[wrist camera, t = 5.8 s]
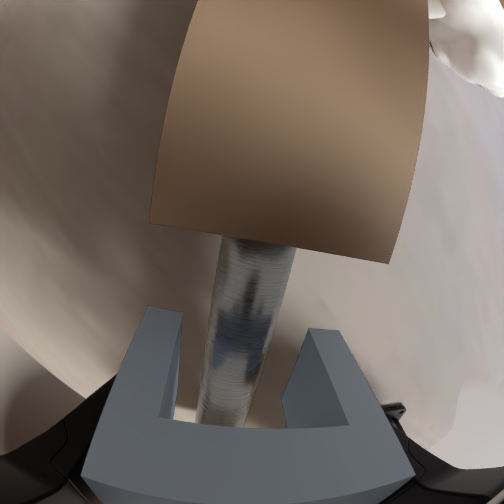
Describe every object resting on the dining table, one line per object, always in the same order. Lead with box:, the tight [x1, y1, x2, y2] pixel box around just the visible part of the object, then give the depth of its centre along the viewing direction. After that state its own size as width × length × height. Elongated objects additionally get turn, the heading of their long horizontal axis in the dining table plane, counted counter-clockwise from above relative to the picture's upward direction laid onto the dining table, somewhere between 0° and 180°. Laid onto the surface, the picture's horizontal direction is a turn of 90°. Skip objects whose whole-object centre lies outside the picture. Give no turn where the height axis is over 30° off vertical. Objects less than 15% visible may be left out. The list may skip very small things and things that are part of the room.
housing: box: [149, 0, 429, 264], centre depth 7 cm, size 16×6×7 cm, turn 169°
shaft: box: [195, 235, 296, 428], centre depth 11 cm, size 20×5×5 cm, turn 169°
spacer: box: [81, 306, 416, 504], centre depth 7 cm, size 4×7×6 cm, turn 79°
